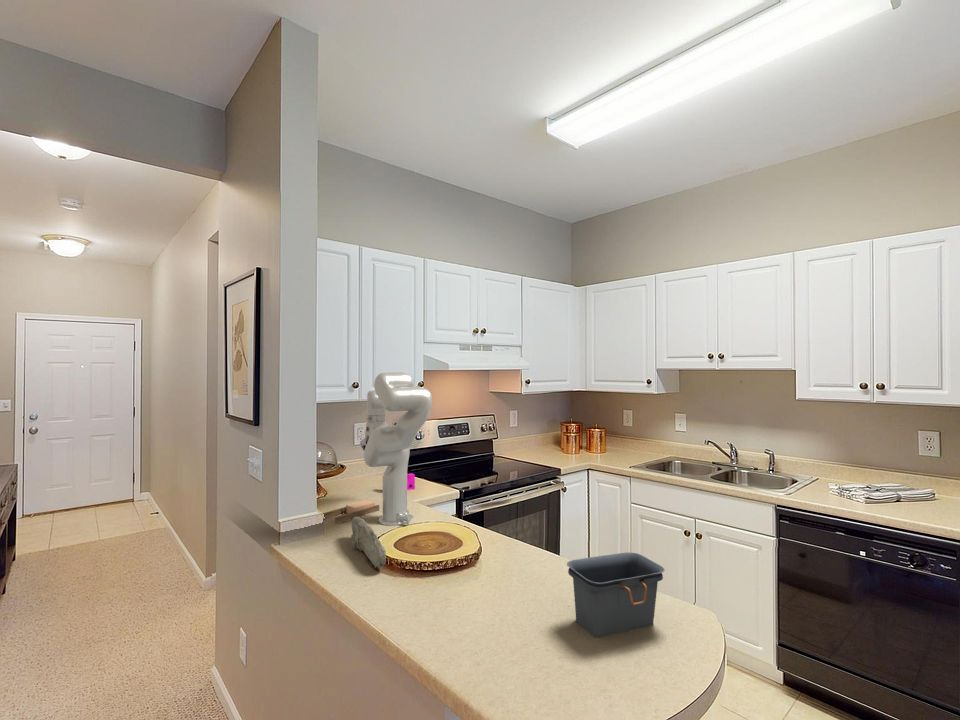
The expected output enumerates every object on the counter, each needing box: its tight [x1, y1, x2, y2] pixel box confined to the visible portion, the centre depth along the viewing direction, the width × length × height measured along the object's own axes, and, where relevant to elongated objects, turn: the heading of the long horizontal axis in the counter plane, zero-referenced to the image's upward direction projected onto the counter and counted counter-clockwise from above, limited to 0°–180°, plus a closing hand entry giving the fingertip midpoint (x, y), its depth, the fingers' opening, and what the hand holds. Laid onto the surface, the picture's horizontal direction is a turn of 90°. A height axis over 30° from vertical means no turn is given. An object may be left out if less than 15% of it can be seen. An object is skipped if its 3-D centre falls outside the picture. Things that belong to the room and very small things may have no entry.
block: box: [345, 499, 376, 514], centre depth 206 cm, size 6×10×4 cm, turn 135°
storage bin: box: [566, 552, 665, 639], centre depth 117 cm, size 21×16×14 cm
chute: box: [323, 504, 380, 525], centre depth 202 cm, size 10×22×2 cm, turn 143°
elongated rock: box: [350, 516, 387, 569], centre depth 160 cm, size 35×5×10 cm, turn 30°
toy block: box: [407, 472, 416, 491], centre depth 242 cm, size 15×6×8 cm, turn 117°
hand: (376, 458), depth 215 cm, fingers open, 9 cm apart
